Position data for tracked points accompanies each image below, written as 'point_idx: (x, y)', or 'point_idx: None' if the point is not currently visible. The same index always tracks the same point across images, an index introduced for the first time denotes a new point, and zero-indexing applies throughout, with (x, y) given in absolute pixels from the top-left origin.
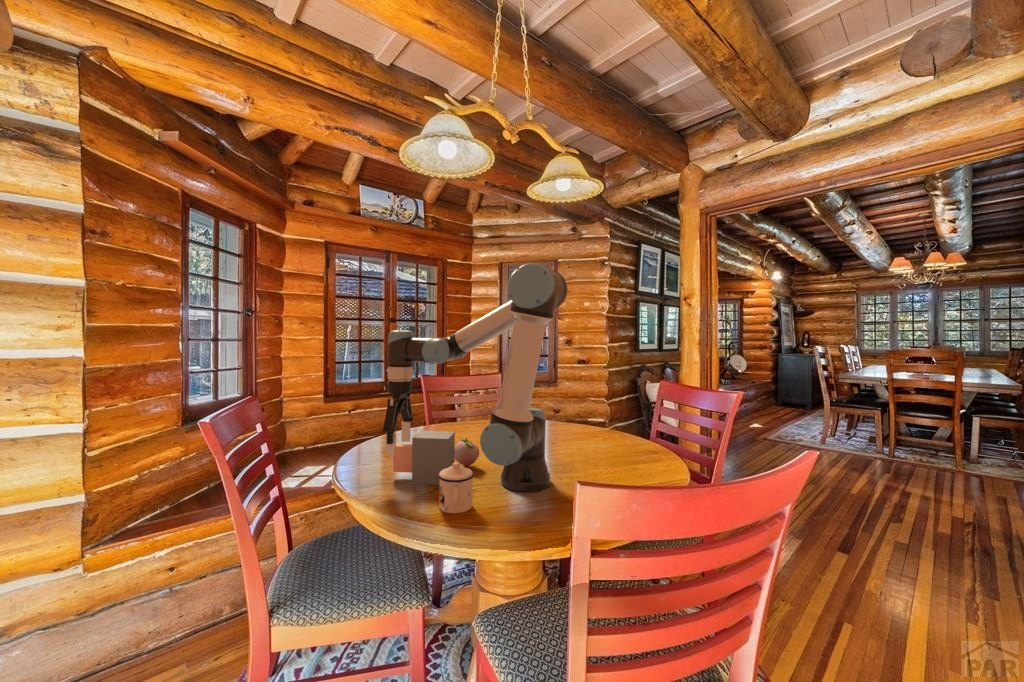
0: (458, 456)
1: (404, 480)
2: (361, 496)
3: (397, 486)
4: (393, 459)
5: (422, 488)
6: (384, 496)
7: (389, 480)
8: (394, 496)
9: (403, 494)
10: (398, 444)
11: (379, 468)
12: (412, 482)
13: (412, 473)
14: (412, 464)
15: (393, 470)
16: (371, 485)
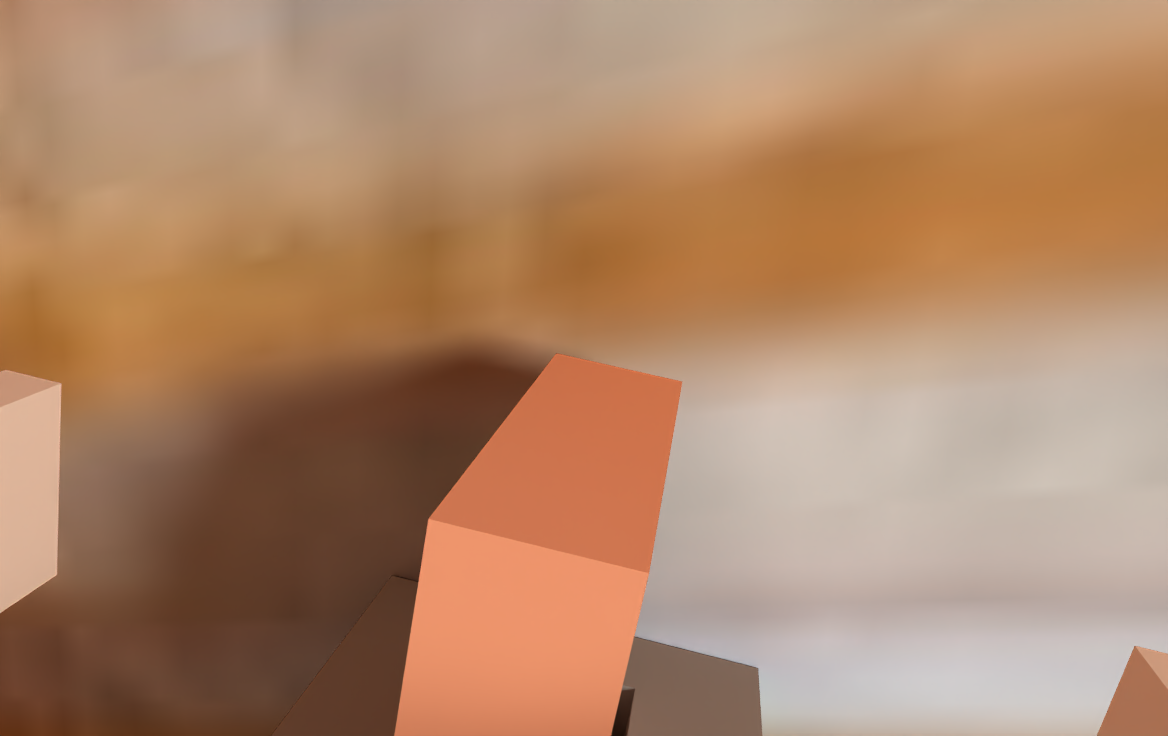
0: None
1: None
2: (6, 23)
3: (319, 413)
4: (510, 414)
5: (259, 686)
6: (27, 303)
7: (533, 284)
8: None
9: (92, 501)
10: (593, 635)
11: (1138, 21)
12: (383, 589)
13: (335, 651)
14: (278, 731)
15: (551, 362)
16: (357, 65)
